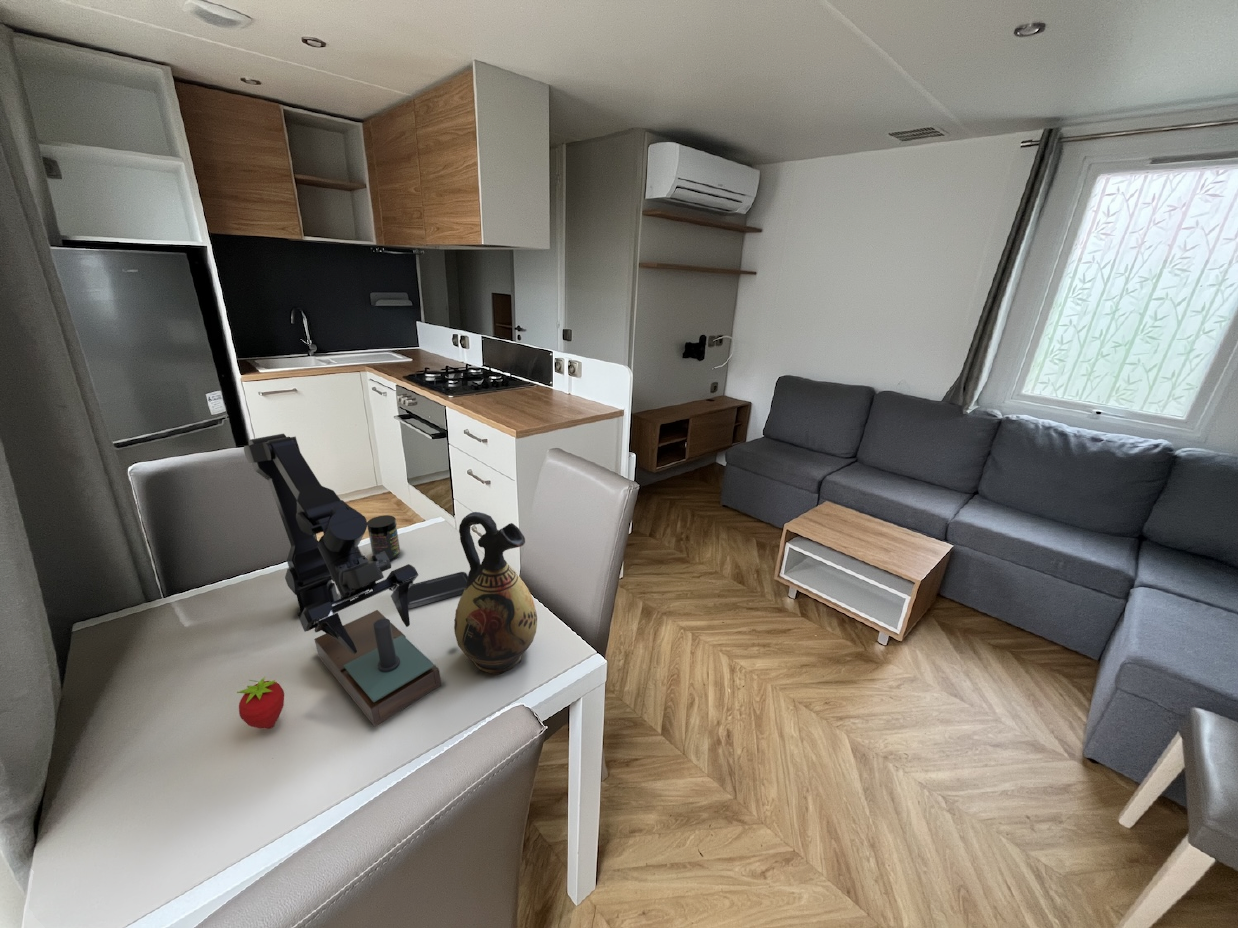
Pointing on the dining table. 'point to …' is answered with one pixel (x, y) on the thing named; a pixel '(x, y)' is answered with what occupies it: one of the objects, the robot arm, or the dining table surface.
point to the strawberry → (261, 704)
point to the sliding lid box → (364, 642)
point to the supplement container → (384, 536)
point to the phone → (436, 589)
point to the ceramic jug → (493, 600)
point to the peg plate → (387, 663)
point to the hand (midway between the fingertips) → (383, 638)
